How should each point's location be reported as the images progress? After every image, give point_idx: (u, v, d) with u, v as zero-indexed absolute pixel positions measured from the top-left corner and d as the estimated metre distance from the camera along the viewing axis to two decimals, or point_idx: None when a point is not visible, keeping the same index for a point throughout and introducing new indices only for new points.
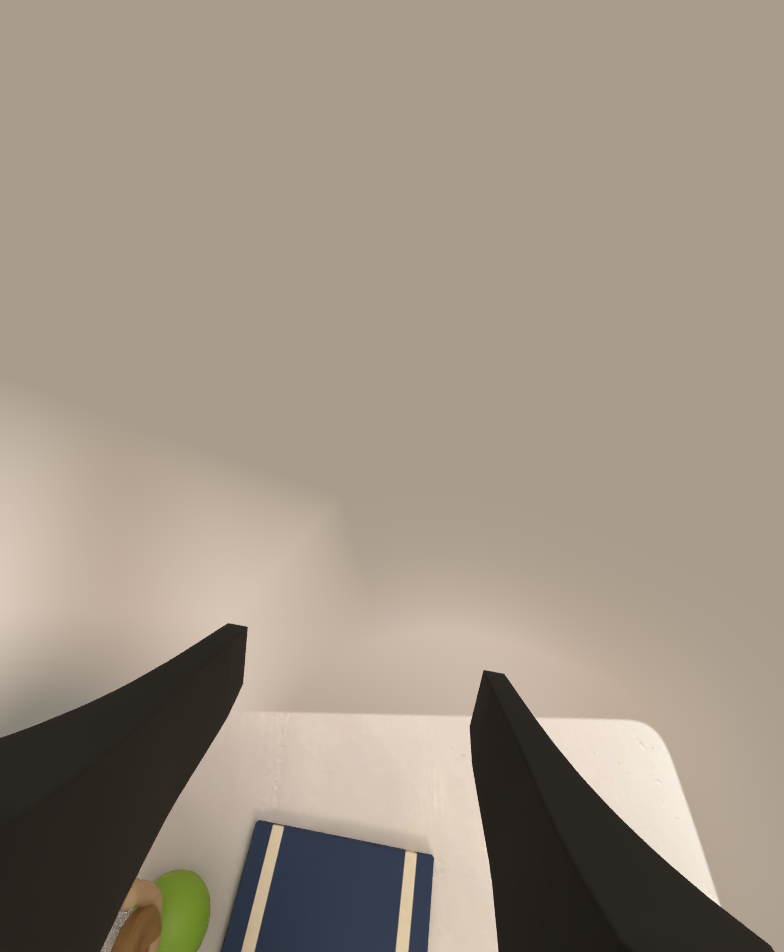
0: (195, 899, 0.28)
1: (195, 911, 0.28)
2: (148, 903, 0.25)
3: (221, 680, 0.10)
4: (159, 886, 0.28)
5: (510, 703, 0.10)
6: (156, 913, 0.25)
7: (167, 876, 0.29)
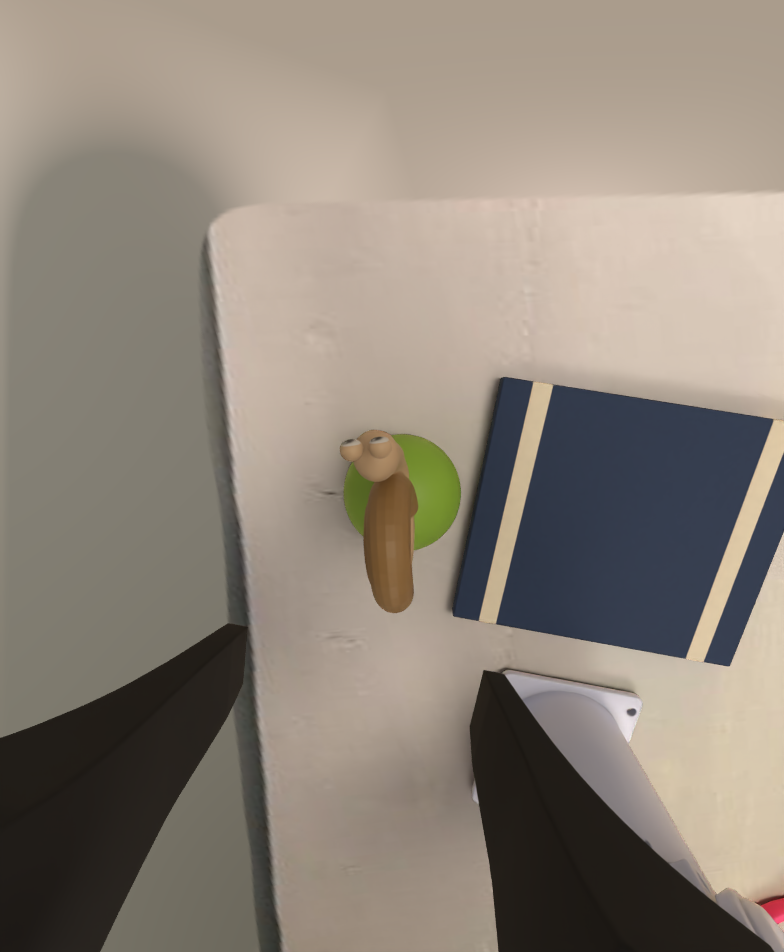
0: (445, 468, 0.17)
1: (450, 481, 0.17)
2: (397, 471, 0.13)
3: (222, 680, 0.10)
4: None
5: (510, 703, 0.10)
6: (412, 484, 0.14)
7: None
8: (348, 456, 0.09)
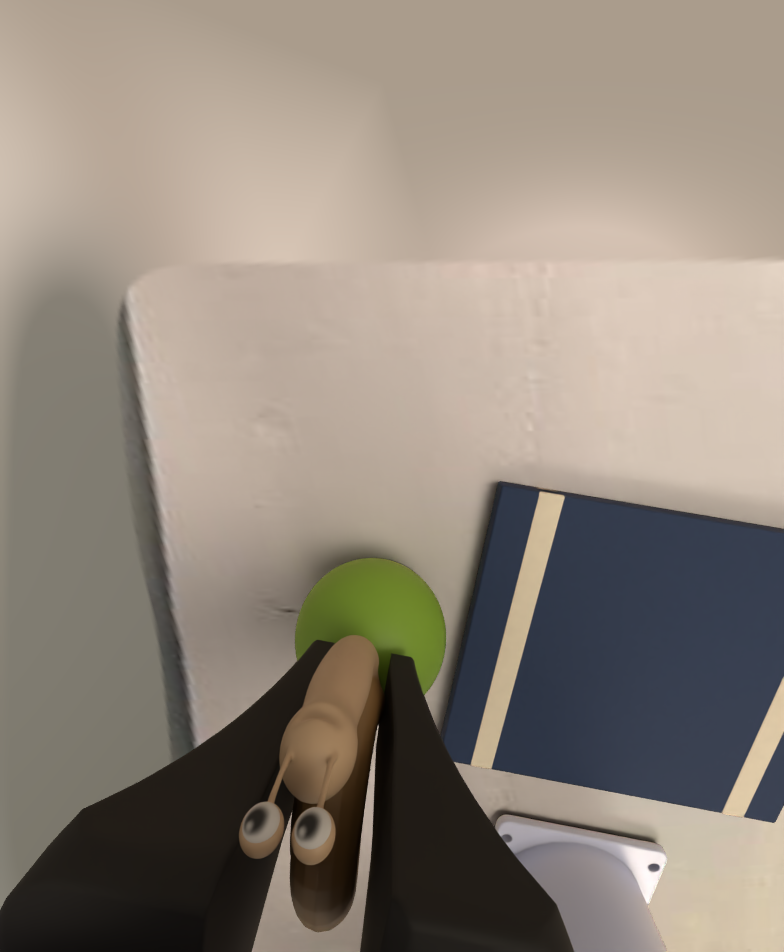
0: (430, 629, 0.13)
1: (433, 648, 0.13)
2: None
3: None
4: (351, 598, 0.13)
5: (403, 683, 0.10)
6: (379, 701, 0.10)
7: (361, 578, 0.13)
8: (250, 857, 0.05)
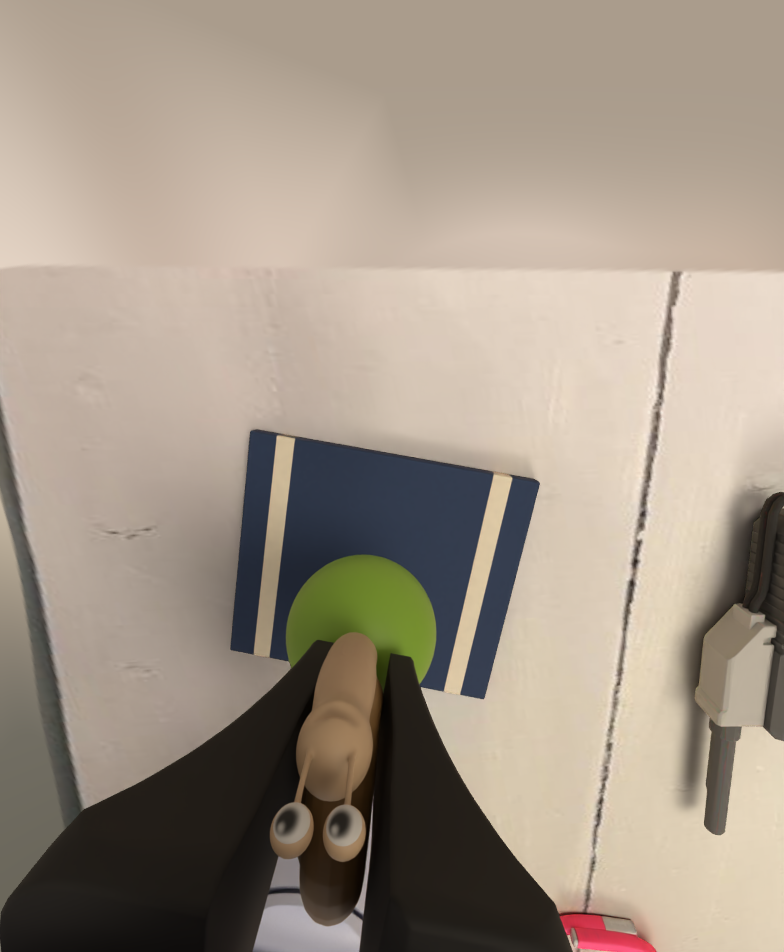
0: (422, 624, 0.13)
1: (426, 642, 0.13)
2: None
3: None
4: (345, 596, 0.13)
5: (402, 683, 0.10)
6: (380, 696, 0.10)
7: (354, 575, 0.13)
8: (283, 858, 0.05)
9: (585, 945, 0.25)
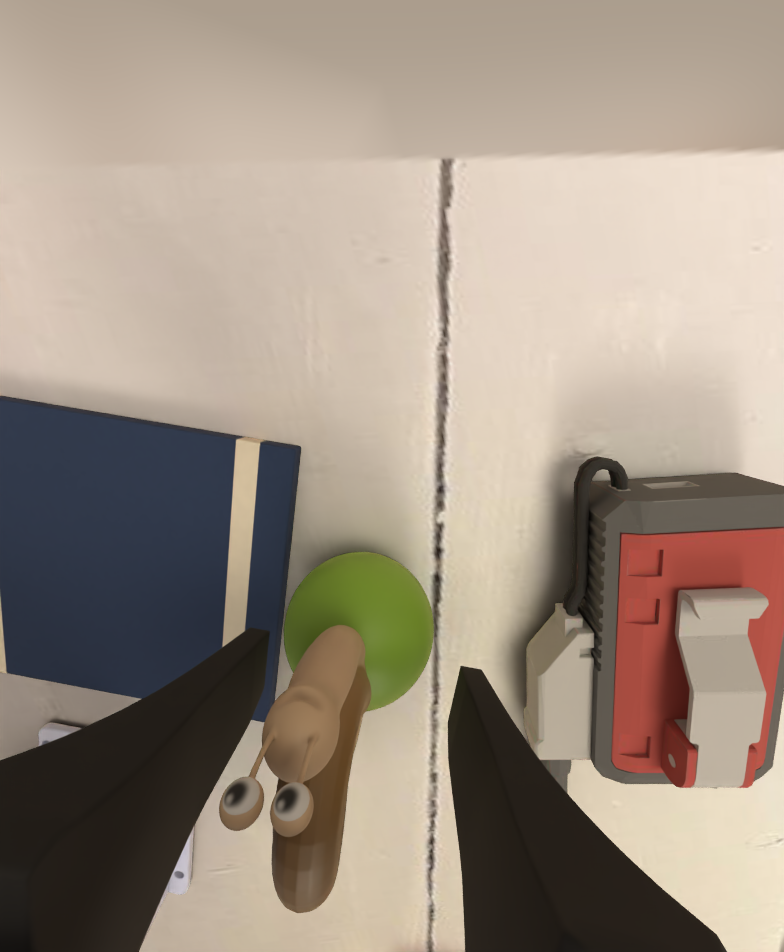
0: (417, 621, 0.13)
1: (420, 640, 0.13)
2: None
3: (246, 685, 0.10)
4: (340, 590, 0.13)
5: (483, 698, 0.10)
6: (364, 689, 0.10)
7: (350, 571, 0.13)
8: (230, 829, 0.05)
9: None
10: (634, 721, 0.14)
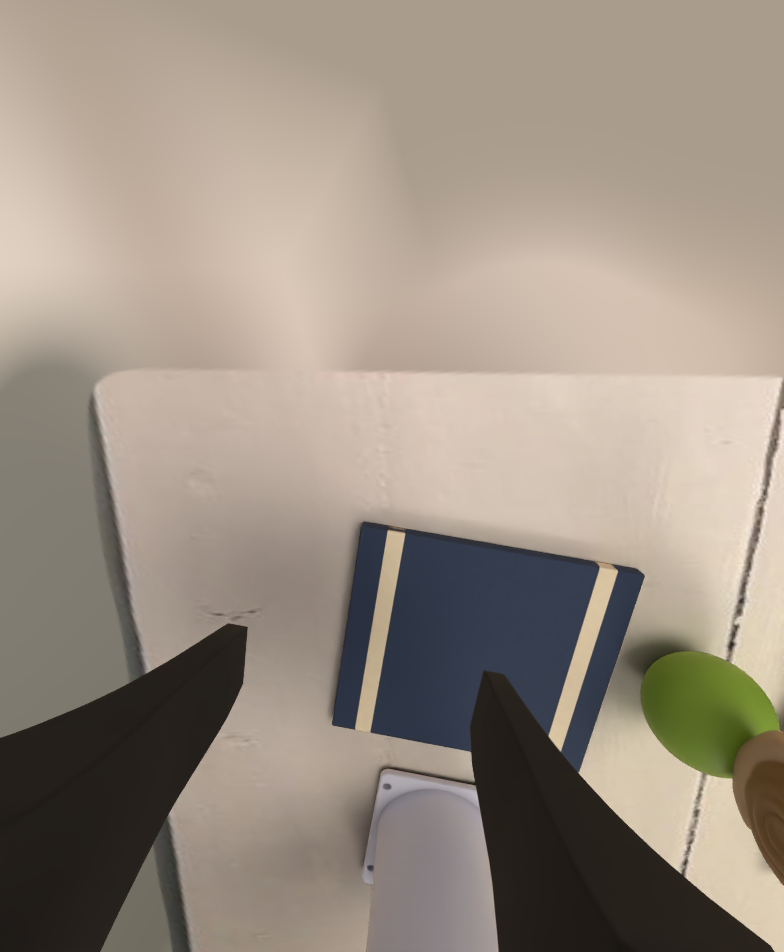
0: None
1: (779, 728, 0.18)
2: None
3: (221, 680, 0.10)
4: (727, 694, 0.18)
5: (510, 703, 0.10)
6: None
7: (722, 676, 0.19)
8: None
9: None
10: None
